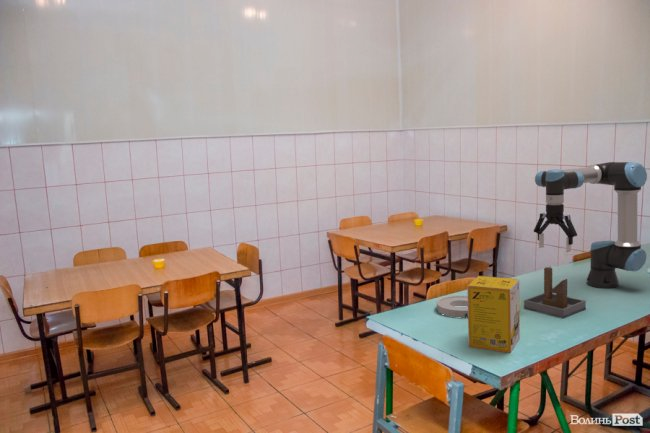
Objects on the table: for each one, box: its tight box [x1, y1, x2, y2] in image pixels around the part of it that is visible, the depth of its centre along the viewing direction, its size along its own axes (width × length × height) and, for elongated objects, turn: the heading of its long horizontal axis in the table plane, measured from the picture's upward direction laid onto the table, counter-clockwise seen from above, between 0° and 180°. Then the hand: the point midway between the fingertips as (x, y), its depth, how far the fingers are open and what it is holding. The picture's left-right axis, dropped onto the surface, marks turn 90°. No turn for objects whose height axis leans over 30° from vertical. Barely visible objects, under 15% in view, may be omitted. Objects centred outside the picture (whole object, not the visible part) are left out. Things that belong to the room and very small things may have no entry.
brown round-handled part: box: [542, 266, 568, 309], centre depth 255 cm, size 4×11×18 cm, turn 34°
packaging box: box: [466, 275, 521, 354], centre depth 219 cm, size 16×16×25 cm
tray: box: [523, 292, 587, 319], centre depth 257 cm, size 18×20×4 cm
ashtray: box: [436, 295, 468, 319], centre depth 263 cm, size 23×23×4 cm
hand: (554, 249), depth 253 cm, fingers open, 13 cm apart
